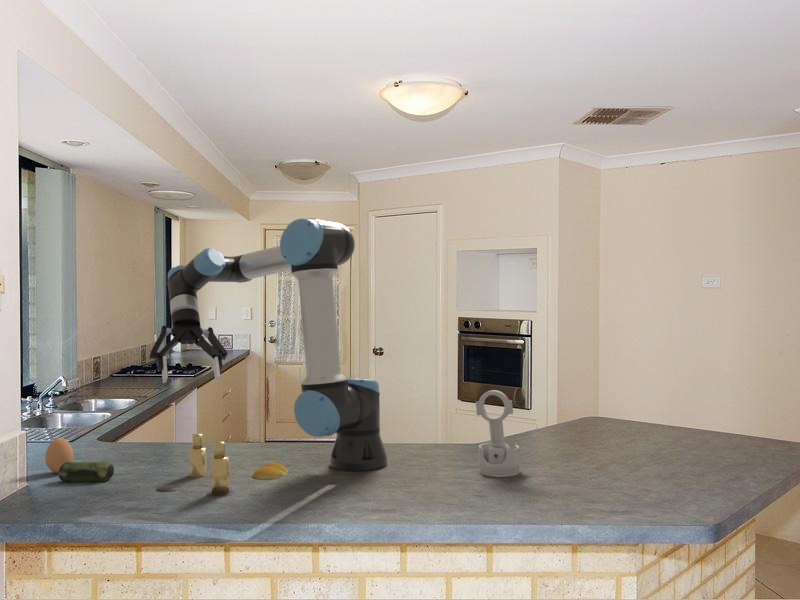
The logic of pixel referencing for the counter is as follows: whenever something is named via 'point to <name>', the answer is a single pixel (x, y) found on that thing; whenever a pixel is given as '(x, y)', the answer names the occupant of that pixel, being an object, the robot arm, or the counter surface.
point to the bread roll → (271, 471)
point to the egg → (58, 454)
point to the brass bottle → (197, 457)
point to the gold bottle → (219, 470)
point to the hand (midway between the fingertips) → (192, 380)
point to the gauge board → (177, 487)
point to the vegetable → (86, 471)
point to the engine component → (497, 442)
